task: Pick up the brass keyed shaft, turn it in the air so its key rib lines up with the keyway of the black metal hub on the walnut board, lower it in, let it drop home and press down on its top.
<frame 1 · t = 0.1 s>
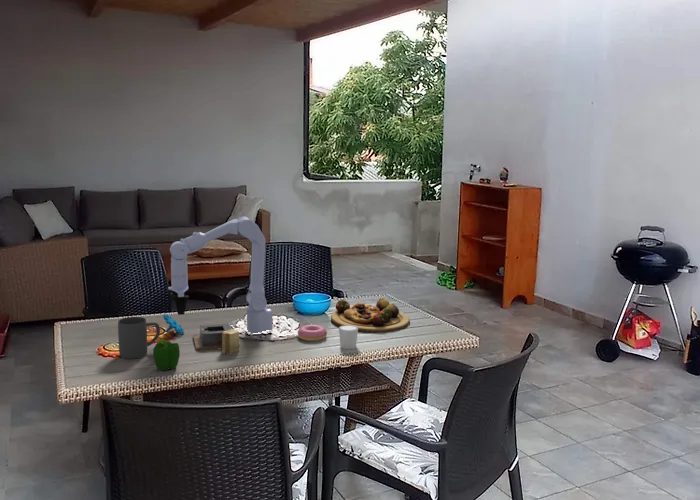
hand: (180, 311, 236), 10 cm above the table, fingers open, 7 cm apart
bell pepper: (166, 368, 208), on the table
gear: (174, 334, 243), on the table
shot glass: (348, 346, 232), on the table
keyed shaft: (231, 351, 225), on the table
wooden plate with food: (369, 322, 264), on the table
doughnut: (312, 338, 242), on the table
hub: (216, 342, 234), on the table
mug: (140, 354, 221), on the table
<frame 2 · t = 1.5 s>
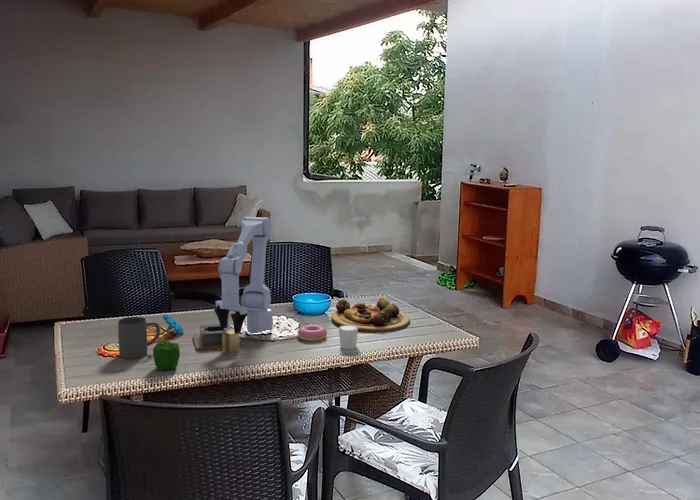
hand: (230, 330, 223), 7 cm above the table, fingers open, 7 cm apart
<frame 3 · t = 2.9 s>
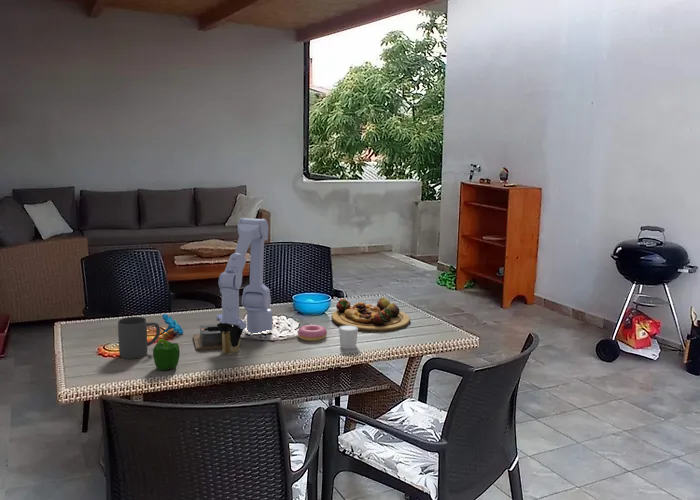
hand: (231, 344, 224), 2 cm above the table, fingers closed on keyed shaft, 4 cm apart
keyed shaft: (231, 351, 225), on the table, touching gripper
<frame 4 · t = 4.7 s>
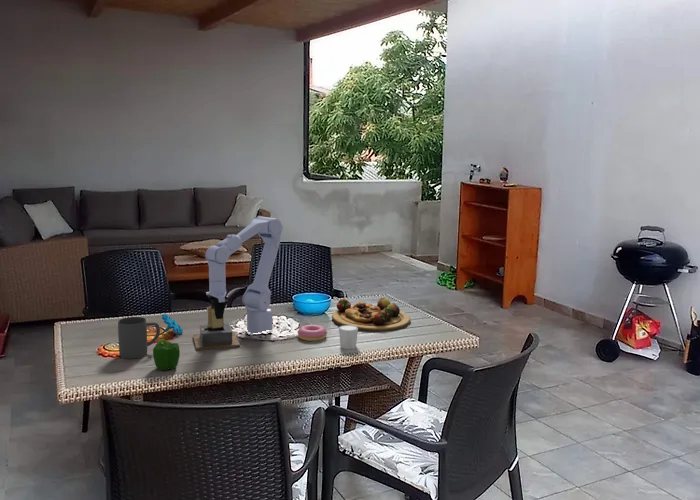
hand: (218, 316, 231), 10 cm above the table, fingers closed on keyed shaft, 4 cm apart
keyed shaft: (217, 325, 231), point 7 cm above the table, touching gripper
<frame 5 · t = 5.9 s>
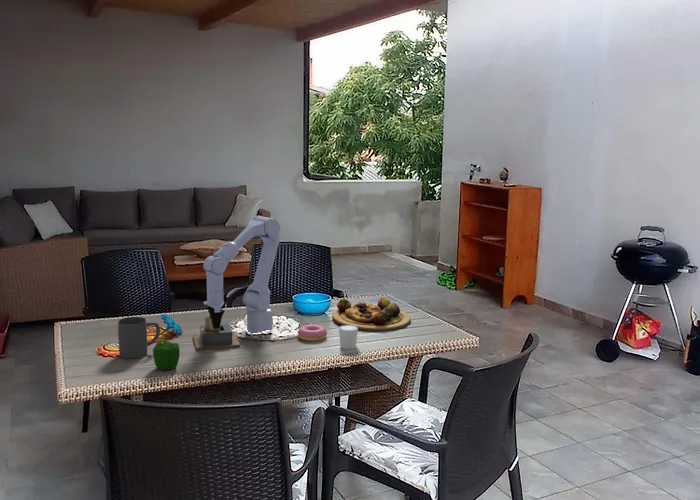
hand: (215, 326, 233), 6 cm above the table, fingers closed on keyed shaft, 4 cm apart
keyed shaft: (214, 335, 233), point 2 cm above the table, touching gripper
when the fingers open (6 cm above the table, at t = 6.7 s): keyed shaft drops 1 cm, resting on hub.
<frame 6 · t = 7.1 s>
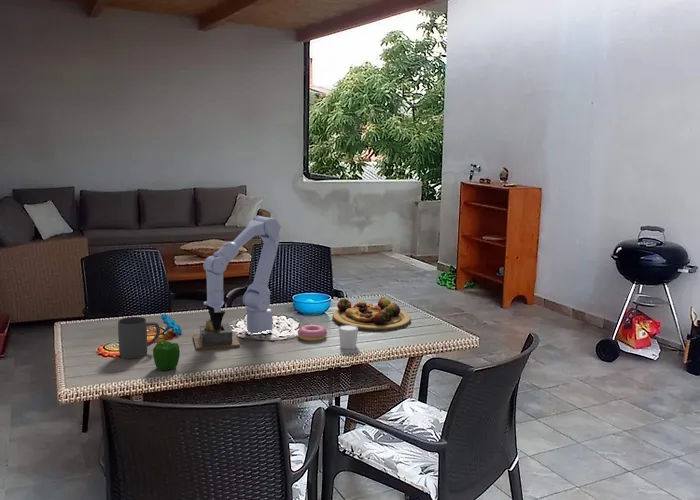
hand: (215, 326, 233), 6 cm above the table, fingers open, 7 cm apart
keyed shaft: (214, 339, 234), point 1 cm above the table, touching hub
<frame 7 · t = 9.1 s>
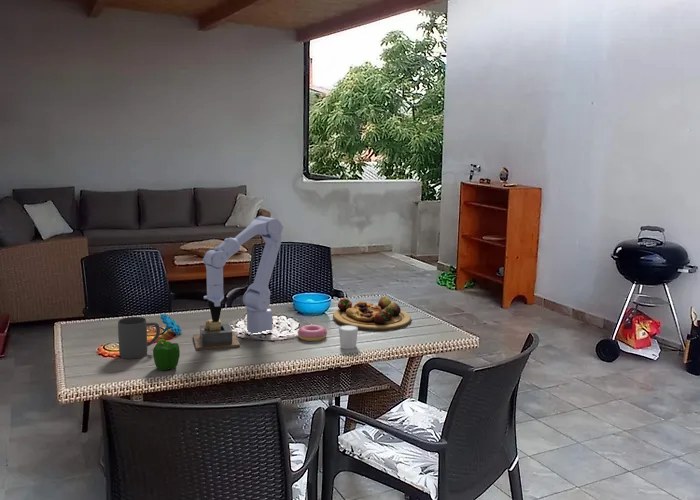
hand: (215, 320, 232), 8 cm above the table, fingers closed, pressing on keyed shaft
keyed shaft: (214, 339, 234), point 1 cm above the table, touching gripper, hub
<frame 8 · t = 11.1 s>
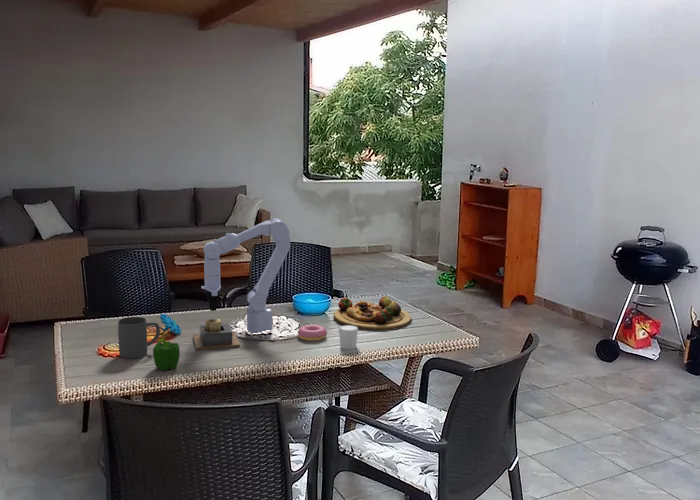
hand: (213, 310, 241), 9 cm above the table, fingers closed
keyed shaft: (214, 339, 234), point 1 cm above the table, touching hub
at the end: keyed shaft 0.4 cm off-centre on the hub, point 1.0 cm above the hub's base; keyed shaft tilted 0°; the gripper is holding nothing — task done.
